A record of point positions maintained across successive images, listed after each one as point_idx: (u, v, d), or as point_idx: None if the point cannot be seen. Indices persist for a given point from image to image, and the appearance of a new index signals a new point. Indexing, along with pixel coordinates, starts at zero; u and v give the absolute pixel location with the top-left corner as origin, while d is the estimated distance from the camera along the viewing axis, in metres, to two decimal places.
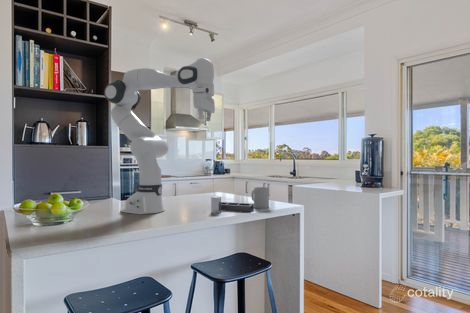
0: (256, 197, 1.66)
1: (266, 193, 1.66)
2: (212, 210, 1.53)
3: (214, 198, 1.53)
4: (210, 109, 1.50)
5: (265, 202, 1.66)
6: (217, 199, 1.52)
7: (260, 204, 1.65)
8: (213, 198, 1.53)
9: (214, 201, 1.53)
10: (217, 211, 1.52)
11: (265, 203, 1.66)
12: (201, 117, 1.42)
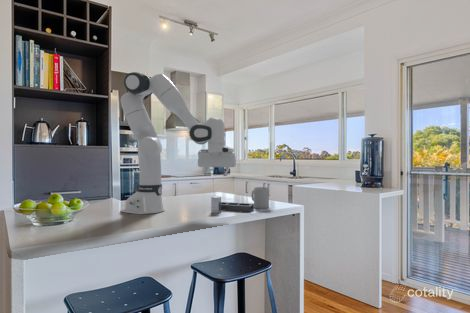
0: (256, 197, 1.66)
1: (266, 193, 1.66)
2: (212, 210, 1.53)
3: (214, 198, 1.53)
4: None
5: (265, 202, 1.66)
6: (217, 199, 1.52)
7: (260, 204, 1.65)
8: (213, 198, 1.53)
9: (214, 201, 1.53)
10: (217, 211, 1.52)
11: (265, 203, 1.66)
12: None
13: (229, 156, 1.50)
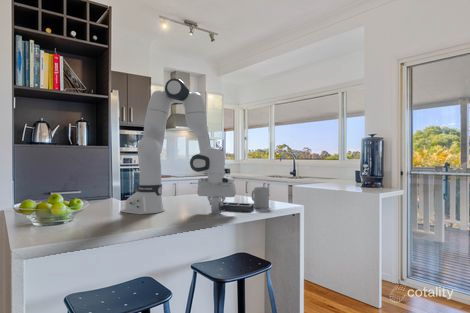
0: (256, 197, 1.66)
1: (266, 193, 1.66)
2: (212, 210, 1.53)
3: (214, 198, 1.53)
4: None
5: (265, 202, 1.66)
6: (217, 199, 1.52)
7: (260, 204, 1.65)
8: (213, 198, 1.53)
9: (214, 201, 1.53)
10: (217, 211, 1.52)
11: (265, 203, 1.66)
12: (222, 204, 1.54)
13: (229, 187, 1.51)
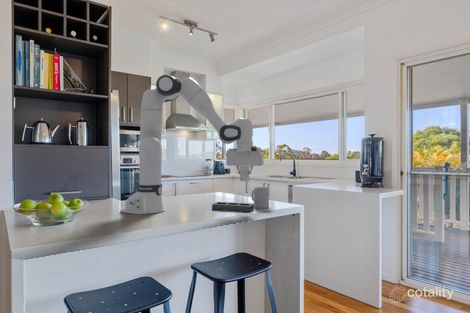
0: (256, 197, 1.66)
1: (266, 193, 1.66)
2: (241, 178, 1.59)
3: (243, 167, 1.59)
4: None
5: (265, 202, 1.66)
6: (246, 167, 1.58)
7: (260, 204, 1.65)
8: (242, 167, 1.59)
9: (243, 169, 1.59)
10: (246, 179, 1.58)
11: (265, 203, 1.66)
12: None
13: (257, 155, 1.56)
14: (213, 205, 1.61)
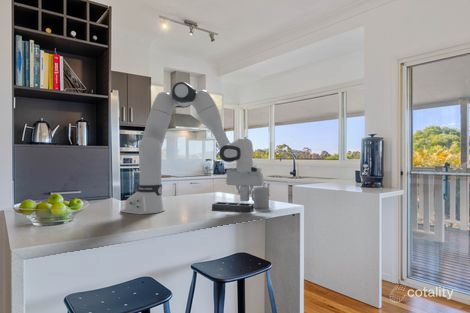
0: (256, 197, 1.66)
1: (266, 193, 1.66)
2: (241, 198, 1.59)
3: (243, 187, 1.59)
4: None
5: (265, 202, 1.66)
6: (246, 188, 1.58)
7: (260, 204, 1.65)
8: (242, 187, 1.59)
9: (243, 190, 1.59)
10: (246, 199, 1.58)
11: (265, 203, 1.66)
12: None
13: (257, 176, 1.57)
14: (213, 205, 1.61)
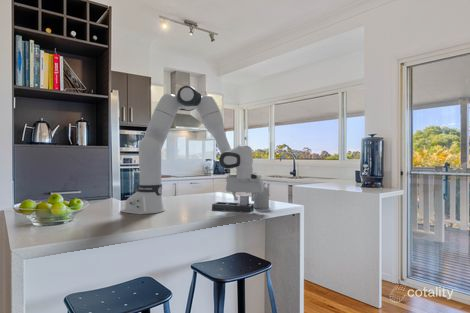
0: (256, 197, 1.66)
1: (266, 193, 1.66)
2: None
3: (242, 196, 1.59)
4: None
5: (265, 202, 1.66)
6: (245, 197, 1.58)
7: (260, 204, 1.65)
8: (241, 196, 1.59)
9: (242, 199, 1.59)
10: None
11: (265, 203, 1.66)
12: (254, 199, 1.60)
13: (257, 183, 1.56)
14: (213, 205, 1.61)
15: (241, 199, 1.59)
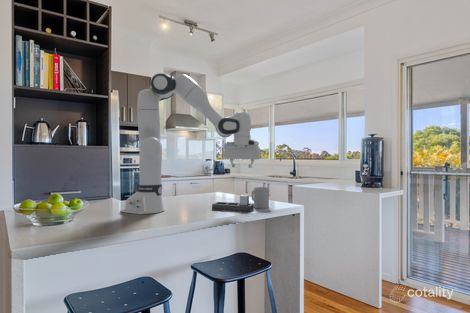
0: (256, 197, 1.66)
1: (266, 193, 1.66)
2: None
3: (242, 196, 1.59)
4: None
5: (265, 202, 1.66)
6: (245, 197, 1.58)
7: (260, 204, 1.65)
8: (241, 196, 1.59)
9: (242, 199, 1.59)
10: None
11: (265, 203, 1.66)
12: (251, 166, 1.61)
13: (254, 149, 1.58)
14: (213, 205, 1.61)
15: (241, 199, 1.59)
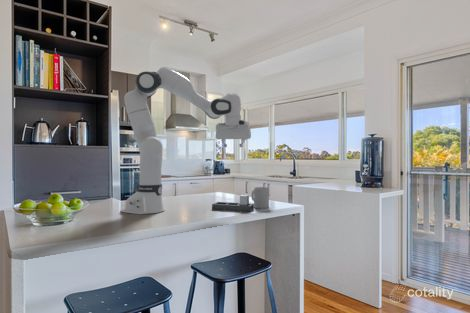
0: (256, 197, 1.66)
1: (266, 193, 1.66)
2: None
3: (242, 196, 1.59)
4: None
5: (265, 202, 1.66)
6: (245, 197, 1.58)
7: (260, 204, 1.65)
8: (241, 196, 1.59)
9: (242, 199, 1.59)
10: None
11: (265, 203, 1.66)
12: (242, 145, 1.67)
13: (245, 128, 1.64)
14: (213, 205, 1.61)
15: (241, 199, 1.59)
